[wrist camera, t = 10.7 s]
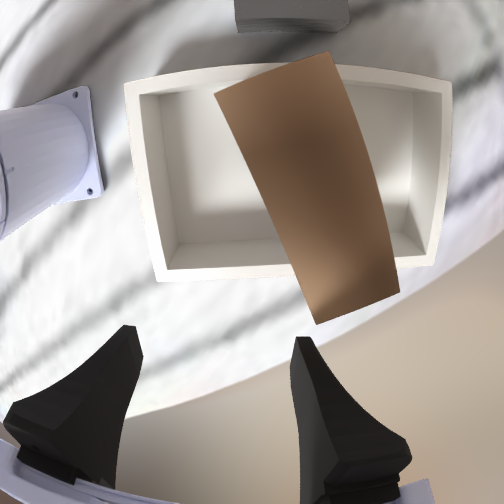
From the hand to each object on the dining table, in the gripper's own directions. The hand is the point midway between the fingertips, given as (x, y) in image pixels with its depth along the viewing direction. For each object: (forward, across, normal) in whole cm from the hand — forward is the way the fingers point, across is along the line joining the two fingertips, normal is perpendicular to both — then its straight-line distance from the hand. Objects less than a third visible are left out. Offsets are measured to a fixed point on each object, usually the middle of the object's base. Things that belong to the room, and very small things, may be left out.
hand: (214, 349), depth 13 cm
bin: (+9, -4, -7) cm, 12 cm away
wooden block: (+5, -4, -7) cm, 9 cm away
